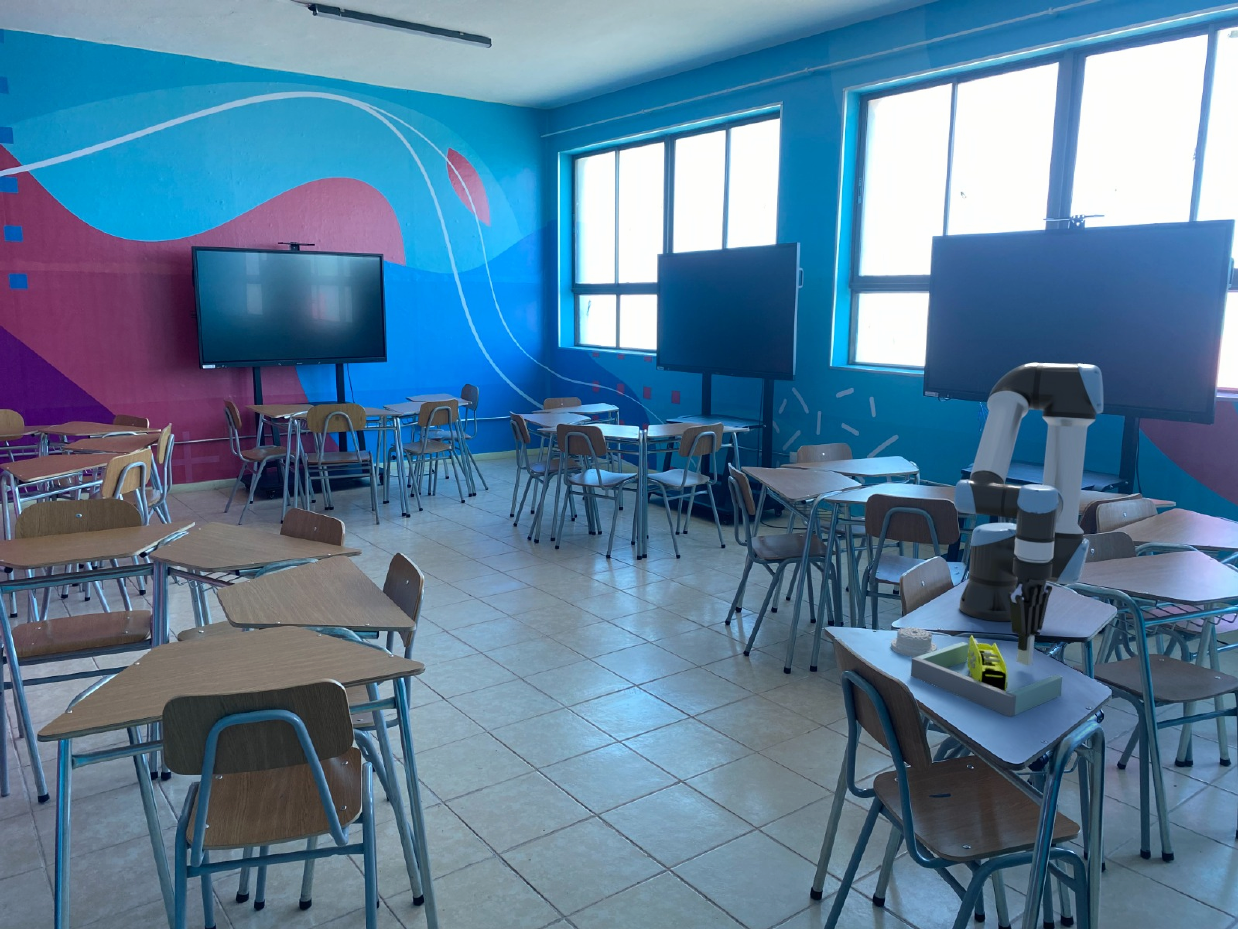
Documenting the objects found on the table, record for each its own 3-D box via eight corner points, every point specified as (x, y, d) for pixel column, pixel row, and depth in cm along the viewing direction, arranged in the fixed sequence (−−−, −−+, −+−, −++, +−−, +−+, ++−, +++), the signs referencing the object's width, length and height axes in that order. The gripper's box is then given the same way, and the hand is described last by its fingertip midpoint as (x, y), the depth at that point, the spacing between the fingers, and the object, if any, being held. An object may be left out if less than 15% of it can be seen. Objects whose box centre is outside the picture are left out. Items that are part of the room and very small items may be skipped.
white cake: (941, 659, 195) (930, 643, 205) (942, 640, 194) (931, 625, 204) (896, 657, 196) (887, 641, 206) (897, 639, 195) (888, 623, 205)
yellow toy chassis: (964, 668, 190) (967, 632, 188) (992, 671, 188) (995, 634, 187) (976, 699, 174) (979, 659, 173) (1006, 702, 173) (1010, 662, 172)
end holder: (961, 658, 194) (962, 641, 194) (1060, 695, 176) (1062, 677, 175) (910, 676, 185) (911, 658, 184) (1010, 717, 166) (1011, 697, 165)
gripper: (1034, 549, 191) (1025, 651, 195) (998, 558, 184) (990, 663, 188) (1067, 557, 184) (1058, 662, 188) (1031, 567, 177) (1022, 675, 181)
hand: (1024, 663), depth 188 cm, fingers closed
